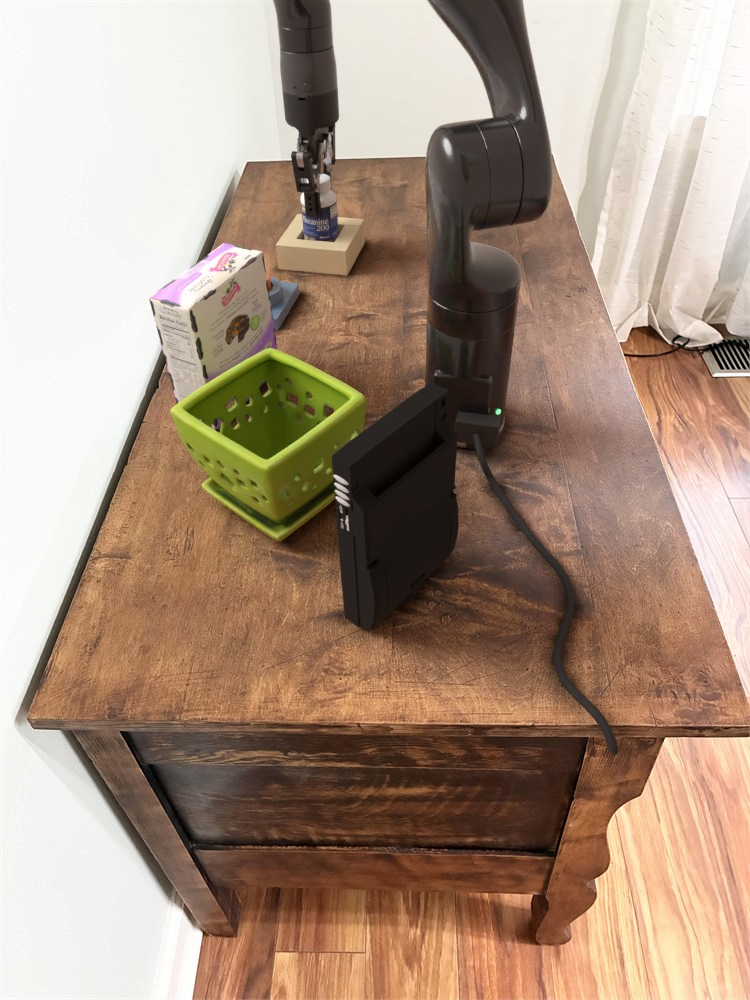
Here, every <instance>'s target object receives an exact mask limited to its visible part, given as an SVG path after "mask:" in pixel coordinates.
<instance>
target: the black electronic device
mask: <svg viewBox="0 0 750 1000" xmlns="http://www.w3.org/2000/svg"><path fill="white" fill-rule="evenodd" d="M448 395H449V390H447V389H445V388H443V387H441V386H439V385H437V384H435V383H433V382H431V383H429V384H428V385H426V386H425V385H424V386H423V387H421V388H420V389H419V390H417V391H416V392H414V393H413V394H411V395H410V396H409V397H407V398H406V399H405V400H403V401H402V402H401V403H399V404H398V405H396V406H395V407H394V408H392V410H390V411H389V412H387V413H385V414H384V415H383V416H382V417H380V418H379V419H378V420H376V421H375V422H373V423H372V424H371V425H369V426H368V427H366V429H363V432H362V433H360V434H359V435H357V436H356V437H355V438H353V439H352V440H351V441H349V442H348V443H347V444H345V445H344V446H343V447H342V448H340V449H339V450H338V451H337V452H336V453H334V454H333V455H332V467H333V479H334V492H335V500H334V503H335V516H336V526H337V527H336V528H337V529H336V530H337V538H338V552H339V565H340V566H339V568H340V582H341V590H342V593H341V594H342V602H343V613H344V619H347V620H348V621H349V622H350V623H352V624H353V625H355V626H356V627H357V628H362V629H363V630H373V629H374V630H375V628H377V626H378V625H380V623H382V621H384V620H385V618H387V616H389V615H390V614H391V613H392V612H393V611H394V610H395V609H396V608H398V607H400V606H402V605H404V604H406V603H408V602H410V601H411V600H412V599H414V598H415V597H416V595H417V594H418V593H419V590H420V588H421V586H422V585H423V583H424V581H425V580H426V579H427V578H428V577H429V576H430V575H432V573H434V571H436V570H437V569H438V568H439V567H440V566H441V565H442V564H443V563H445V562H446V560H447V559H448V558H449V557H451V555H452V553H453V551H454V549H455V548H456V547H455V546H456V543H457V539H458V534H459V528H460V524H459V521H460V520H459V518H460V517H459V505H458V499H457V496H458V494H457V493H456V492H455V489H456V488H457V487H456V485H455V484H456V483H455V481H456V468H457V467H456V465H457V452H458V451H457V450H458V447H457V434H456V433H455V432H454V430H453V429H452V428H451V426H450V425H449V423H448V422H447V421H446V420H447V409H448V403H447V399H448Z"/></svg>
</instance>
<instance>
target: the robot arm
mask: <svg viewBox="0 0 750 1000" xmlns="http://www.w3.org/2000/svg"><path fill="white" fill-rule="evenodd" d="M426 1H427V3H428V4H429V6H430V8H432V10H433V11H434V13H435V14H436V15H437V17H438V18H439V19H440V20H441V22H442V23H443V24H444V25H445V26H446V28H447V29H448V31H449V32H450V33H451V35H453V36H454V38H455V39H456V40H457V42H458V43H459V44H460V45H461V47H462V48H463V49H464V51H465V53H466V54H467V55H468V56H469V58H470V60H471V61H472V63H473V65H474V67H475V68H476V70H477V72H478V74H479V77H480V79H481V82H482V84H483V87H484V90H485V93H486V96H487V99H488V102H489V106H490V112H491V115H492V117H486V118H478V119H477V118H476V119H470V120H461V121H454V122H449V123H444V124H441V125H439V126H437V127H436V128H434V130H433V132H432V134H431V135H430V137H429V140H428V143H427V148H426V153H425V164H424V165H425V166H424V172H425V173H424V180H425V181H424V184H425V186H424V187H425V208H426V209H425V211H426V260H427V261H426V263H427V305H426V306H427V309H426V312H427V313H426V337H425V339H426V341H425V342H426V343H425V345H426V346H425V375H424V376H425V379H424V387H425V386H426V385H428V384H429V383H431V382H433V383H435V384H437V385H439V386H441V387H443V388H445V389H447V390H449V395H448V399H447V403H448V409H447V420H446V421H447V422H448V423H449V425H450V426H451V428H452V429H453V430H454V432H455V433H456V434H457V448H463V449H469V450H470V449H471V450H475V451H476V452H475V453H476V456H477V459H478V462H479V465H480V468H481V470H482V473H483V475H484V476H485V478H486V480H487V482H488V483H489V485H490V487H491V489H492V491H493V492H494V494H495V495H496V496H497V498H498V499H499V501H500V502H501V504H502V505H503V507H504V508H505V511H506V512H507V513H508V515H509V516H510V517H511V519H512V520H513V522H514V523H515V524H516V526H517V527H518V528H519V530H520V531H521V533H522V534H523V536H524V537H525V539H526V540H527V541H528V542H529V543H530V544H531V545H532V547H533V548H534V549H535V550H536V552H538V553H539V554H540V555H541V556H542V557H543V558H544V560H545V561H547V563H548V564H549V565H550V566H551V568H552V569H553V571H554V572H555V573H556V574H557V576H558V578H559V580H560V583H561V584H562V588H563V590H564V594H565V610H564V614H563V617H562V619H561V622H560V624H559V627H558V630H557V633H556V636H555V638H554V643H553V651H552V658H553V659H552V661H553V665H554V670H555V673H556V676H557V678H558V680H559V682H560V683H561V685H562V687H563V688H564V689H565V691H566V692H567V693H568V694H569V695H570V697H572V698H573V699H574V700H575V701H576V702H577V703H578V704H579V705H580V706H581V707H582V708H583V709H584V710H585V711H586V712H587V713H588V714H589V715H590V717H592V719H593V720H594V722H596V724H597V725H598V727H599V728H600V730H601V732H602V734H603V738H604V739H605V742H606V746H607V750H608V751H609V752H610V753H609V754H612V755H618V754H619V747H618V742H617V739H616V736H615V734H614V732H613V729H612V727H611V725H610V724H609V721H608V720H607V718H606V717H605V715H604V714H603V713H602V712H601V711H600V709H599V708H597V706H596V705H595V704H594V703H593V702H592V701H591V700H590V699H589V698H587V697H586V696H585V695H584V694H583V693H582V692H581V691H580V690H579V689H578V688H577V686H576V685H574V683H573V682H572V680H571V679H570V677H569V675H568V673H567V670H566V669H565V666H564V665H565V664H564V661H563V647H564V643H565V639H566V636H567V633H568V631H569V628H570V626H571V623H572V619H573V617H574V612H575V607H576V598H575V592H574V591H575V590H574V588H573V584H572V581H571V579H570V577H569V575H568V574H567V572H566V570H565V569H564V567H563V566H562V564H560V562H559V561H558V560H557V559H556V557H555V556H554V555H553V554H552V553H551V552H550V551H549V550H548V549H547V548H546V547H545V546H544V544H542V543H541V542H540V540H539V539H538V538H537V537H536V535H535V534H534V533H533V531H531V529H530V528H529V526H528V525H527V523H526V522H525V521H524V519H523V518H522V517H521V515H520V514H519V513H518V512H517V510H516V508H515V507H514V506H513V504H512V503H511V502H510V500H509V499H508V497H507V496H506V495H505V493H504V491H503V489H502V488H501V486H500V484H499V483H498V481H497V479H496V477H495V475H494V474H493V472H492V470H491V468H490V466H489V463H488V461H487V457H486V454H485V450H486V447H491V448H497V447H498V443H499V437H500V436H501V434H502V433H503V431H504V428H505V420H506V419H505V414H506V413H505V412H506V406H507V395H508V388H509V387H508V386H509V378H510V370H511V362H512V356H513V355H512V354H513V347H514V337H515V330H516V321H517V314H518V307H519V298H520V290H521V281H522V270H521V265H520V264H519V262H518V260H517V259H516V258H515V257H514V256H513V255H512V254H511V253H509V252H508V251H506V250H504V249H501V248H499V247H496V246H493V245H490V244H486V243H482V242H478V241H474V240H472V233H473V232H477V231H483V230H491V229H496V228H497V229H498V228H503V227H509V226H516V225H522V224H527V223H531V222H535V221H537V220H539V219H540V218H542V217H543V216H544V215H545V213H546V212H547V210H548V208H549V205H550V204H551V199H552V194H553V189H554V188H553V187H554V164H553V153H552V151H553V150H552V145H551V138H550V133H549V128H548V123H547V118H546V114H545V108H544V104H543V99H542V93H541V90H540V85H539V81H538V76H537V71H536V67H535V61H534V57H533V53H532V48H531V47H532V46H531V43H530V37H529V32H528V31H529V30H528V24H527V19H526V12H525V5H524V0H426ZM272 2H273V6H274V10H275V14H276V23H277V33H278V34H277V35H278V44H279V73H280V81H281V82H280V83H281V91H282V101H283V109H284V110H283V111H284V120H285V123H287V125H288V126H290V127H292V128H295V129H296V130H297V131H298V138H297V139H296V150H295V151H294V150H292V151H291V153H290V159H291V165H292V170H293V176H294V181H295V182H294V183H295V188H296V192H297V193H303V192H304V201H305V212H306V215H307V216H308V217H319V216H320V215H321V203H320V191H319V190H320V187H319V185H320V175H322V174H326V175H328V176H330V180H331V181H332V174H333V171H334V167H333V166H334V165H336V163H337V162H336V161H337V159H336V123H337V122H338V121H339V120H340V106H339V105H340V104H339V88H338V70H337V69H338V67H337V60H336V53H335V48H334V35H333V33H334V32H333V14H332V5H331V0H272ZM307 179H308V181H309V183H307ZM330 189H331V190H332V191H333V186H332V183H331V188H330Z"/></svg>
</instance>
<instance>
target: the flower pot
mask: <svg viewBox="0 0 750 1000" xmlns="http://www.w3.org/2000/svg"><path fill="white" fill-rule="evenodd" d="M264 381H266V385H267V387H268V390H267V391H266V392H265V393H264V394H263V395H262V392H261V390H260V389H261V388H260V389H259V386H260V385H261V384H262V383H263V382H264ZM310 394H311V396H310ZM290 395H292V396H294V397H295V398H297V404H295V403H293V402H292V401H291V400H290ZM233 397H234V400H235V405H234V406H233V407H231V408H230V409H229V410H227V408H226V403H227V402H228V401H229V400H230V399H231V398H233ZM249 397H250V399H249V403H248V404H247V402H246V400H247V398H249ZM282 405H283V407H282ZM307 406H308V407H310V408H312V409H313V410H314V414H311V413H310V412H308V411H307V408H308V407H307ZM327 407H328V408H330V409H332V410H333V413H332V414H330V415H329V416H327ZM366 414H367V398H366V396H365V395H364V394H363V393H361V392H360V391H358V390H357V389H356V388H355V387H352V386H351V385H349V384H347V383H346V382H343V381H342V380H340V379H338V378H337V377H334V376H333V375H331V374H329V373H326V372H324V371H323V370H322V369H319V368H317V367H315V366H314V365H312V364H309V363H308V362H306V361H303V360H301V359H299V358H297V357H295V356H293V355H291V354H288V353H286V352H284V351H281V350H280V349H277V350H276V349H273V348H268V349H265V350H263V351H261V352H259V353H257V354H256V355H254V356H252V357H250V358H248V359H246V360H245V361H243V362H241V363H239V364H238V365H236V366H234V367H233V368H231V369H229V370H228V371H226V372H224V373H223V374H221V375H219V376H218V377H216V378H215V379H213V380H211V381H210V382H208V383H207V384H205V385H204V386H202V387H201V388H199V389H198V390H196V391H195V392H193V393H192V394H190V395H189V396H187V397H186V398H185V399H183V400H182V401H181V402H179V403H178V404H177V403H176V404H175V405H174V406H173V407H172V408H171V409H170V416H171V418H172V421H173V423H174V426H175V428H176V430H177V433H178V435H179V437H180V439H181V441H182V443H183V445H184V446H185V449H186V450H187V452H188V453H189V454H190V456H191V457H192V459H193V460H194V461H195V462H196V464H197V465H198V466H199V467H200V468H201V470H202V471H203V472H204V473H205V474H206V475H207V476H208V477H209V478H207V479H206V480H205V481H203V482H202V483H201V488H202V490H203V491H204V492H206V493H207V494H208V495H209V496H211V497H212V498H214V499H215V500H216V501H218V502H219V503H221V504H222V505H223V506H224V507H226V508H227V509H229V510H231V511H232V512H233V513H235V514H236V515H238V516H239V517H241V518H242V519H244V520H245V521H247V523H249V524H251V525H252V526H253V527H255V528H257V530H259V531H260V532H262V533H264V534H265V535H267V536H268V537H269V538H271V539H273V540H275V541H276V542H281V541H283V540H285V539H287V538H288V537H289V536H290V535H291V534H293V533H295V531H297V530H298V529H299V528H301V527H302V526H303V525H305V524H306V523H307V522H309V521H310V520H311V519H312V518H314V517H316V515H317V514H319V513H320V512H321V511H322V510H324V509H325V508H326V507H328V506H329V505H330V504H331V503H333V502H335V492H334V479H333V467H332V455H333V454H334V453H336V452H337V451H338V450H339V449H340V448H342V447H343V446H344V445H345V444H347V443H348V442H349V441H351V440H352V439H353V438H355V437H356V436H357V435H359V434H360V433H362V432H363V431H364V427H365V420H366ZM247 415H249V418H248V420H247ZM300 417H301V419H300ZM200 419H201V421H200ZM214 419H220V420H221V427H220V428H219V431H217V429H216V430H214V429H212V428H211V427H212V424H213V421H214ZM234 420H236V422H237V423H236V425H235V426H234V427H233V426H232V422H233V421H234Z"/></svg>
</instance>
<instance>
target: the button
mask: <svg viewBox="0 0 750 1000" xmlns="http://www.w3.org/2000/svg"><path fill="white" fill-rule="evenodd" d="M266 276H267V282H268V289H269V290H271V281H270V276H271V275H269V273H267V272H266Z"/></svg>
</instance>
